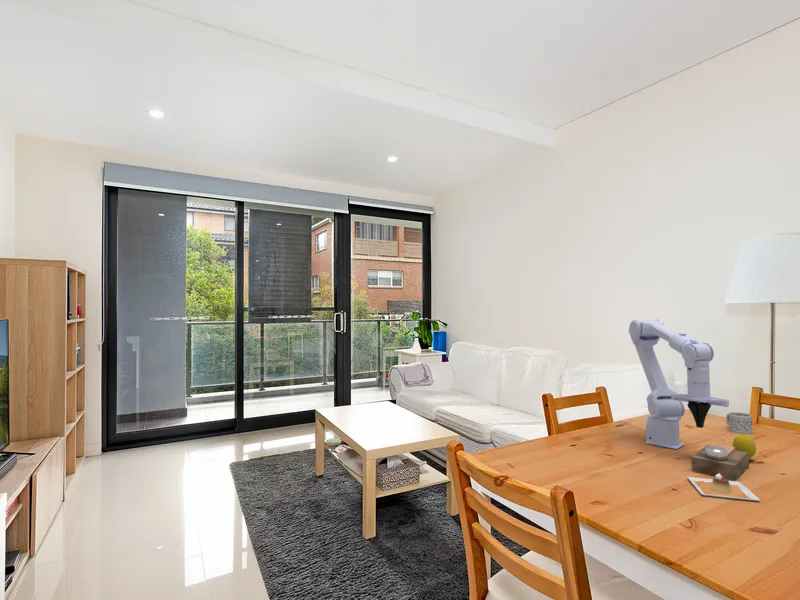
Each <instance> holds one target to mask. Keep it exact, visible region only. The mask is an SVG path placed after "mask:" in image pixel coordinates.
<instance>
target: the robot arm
mask: <svg viewBox="0 0 800 600" xmlns="http://www.w3.org/2000/svg"><path fill="white" fill-rule="evenodd" d="M628 332H629V333H628V334H629V335H630V339H631V341H632V344H633V345H634V346H635V349H636V350H635V351H636V352H637V355H638V357H639V360H640V364H641V365H642V369H643V371H644V374H645V378H646V381H647V383H648V385H649V388H650V390H651V392H650V393H649V394H648V395H647V396H646V401H647V410H648V413H649V414H650V415H651V416H648V417H647V418H646V421H645V422H646V423H645V429H646V430H645V435H646V441H645V444H648V445H653V446H657V447H661V448H662V447H663V448H668V449H673V450H678V449H680V448H681V447H683V446H684V445H685V443H684V442H680V440H681V439H680V420H682V417H683V416H684V414H685V413H686V406H685V404H684V402H685V403H687V408H688V409H689V411H690V412H691V414H692V417H693V419H694V423H695V425H696V426H695V427H696V428H698V429H699V428H700V429H702V428H704V426H705V422H706V418H707V415H708V412H709V411H710V409H711V407H712V406H719V407H723V408H728V407H729V406H730V403H729V402H730V400H729V399H725V398H718V397H712V396H711V381H710V380H711V378H710V362H711V361H712V360H713V358H714V357H715V353H714V349H713V347H712V346H711V345H710V344H709V343H708V342H702V343H701V342H698V341H697V340H696V339H694V338H691V337H689V336H688V335H687V333H685V332H674V331H673V330H671V329H670V328H668V326H666V325H665V322H663V321H661V320H660V319H642V320H641V319H633V320H631V322H630V324H629V327H628ZM660 339H663V340H664V341H666V342H667V343H668V345H669V347H670V349H672V350H675V351H676V352H677V353H679V354H681V357H682V359H683V362H684V366H685V368H686V376H687V379H686V380H687V384H686V385H687V394H684V393H683V394H682V393H677V392H675V391H674V390H671V388H669V386H668V383H667V381H666V378H665V376H664V373H663V371H662V369H661V366H660V363H659V360H658V357H657V356H656V352H655V351H654V346H655V345H657V344H658V343H659V341H660Z"/></svg>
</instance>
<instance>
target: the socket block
mask: <svg viewBox="0 0 800 600" xmlns="http://www.w3.org/2000/svg"><path fill="white" fill-rule="evenodd" d="M706 446H711V445H710V444H707V445H705V446H704V447H703V448H702V449H700V450H699V451H697V452H696V453H695V454H693V455H692V456H691V471H692V472H694V471H696V472H695V473H699V472H700V474H703V473H705V475H708V474H709V475H708V476H712V475H713V477H715V476H716V475H717V474H719V473H720V474H721V475H722V476H723V477H724V478H725V479H727V480H729V481H737V480H738V479H739V478H740V477H741V476H742V475H743V474H744V472H745V471H746V470H747V469H748V468H749V466H750V464H749V463H750V461H749V460H750V459H749V458H748V452H742V451H737V450H735V451H734V452H733V453H732V454H731V455H730V456H728V460H727V461H717V460H712V459H709V458H706V457H705V447H706Z"/></svg>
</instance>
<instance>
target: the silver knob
mask: <svg viewBox="0 0 800 600" xmlns="http://www.w3.org/2000/svg"><path fill="white" fill-rule="evenodd" d="M705 446H706V447H705ZM705 446H704V447H705V457H706V458H709V459H712V460H717V461H727V460H728V450H727V449H725V448H721V447H716V446H714V445H710V446H707V445H705Z"/></svg>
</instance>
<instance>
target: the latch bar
mask: <svg viewBox="0 0 800 600" xmlns="http://www.w3.org/2000/svg"><path fill="white" fill-rule="evenodd" d="M716 447H721V448H725V449H727V450H728V456H730V455H731V454H732V453H733V452H734V451H735V447H733V446H729V445H724V444H717V446H716Z"/></svg>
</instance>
